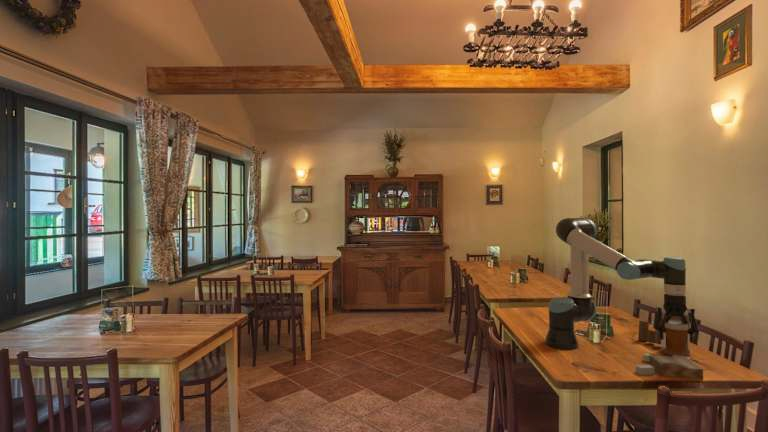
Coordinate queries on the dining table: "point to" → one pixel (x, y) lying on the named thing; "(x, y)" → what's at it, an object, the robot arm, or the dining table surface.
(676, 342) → the disposable coffee cup
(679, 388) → the dining table surface
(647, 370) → the brick bluegrey
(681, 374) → the walnut slab
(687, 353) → the wooden block
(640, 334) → the wooden block set
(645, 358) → the brick sage
